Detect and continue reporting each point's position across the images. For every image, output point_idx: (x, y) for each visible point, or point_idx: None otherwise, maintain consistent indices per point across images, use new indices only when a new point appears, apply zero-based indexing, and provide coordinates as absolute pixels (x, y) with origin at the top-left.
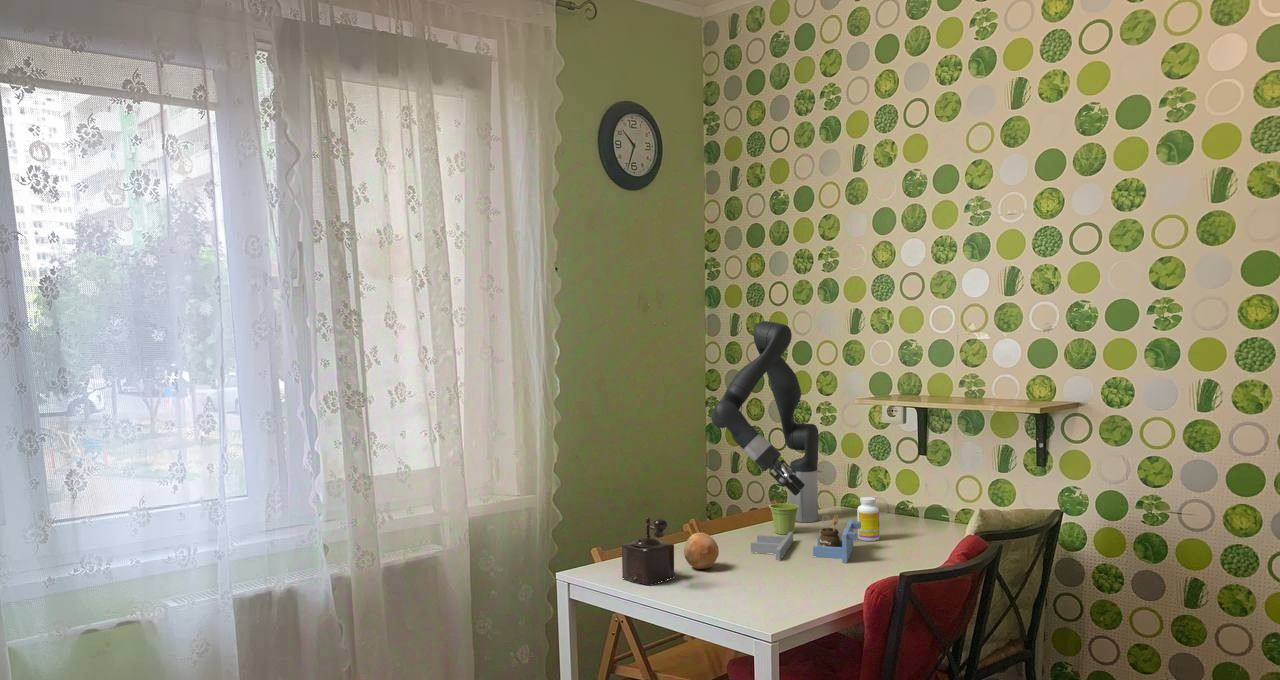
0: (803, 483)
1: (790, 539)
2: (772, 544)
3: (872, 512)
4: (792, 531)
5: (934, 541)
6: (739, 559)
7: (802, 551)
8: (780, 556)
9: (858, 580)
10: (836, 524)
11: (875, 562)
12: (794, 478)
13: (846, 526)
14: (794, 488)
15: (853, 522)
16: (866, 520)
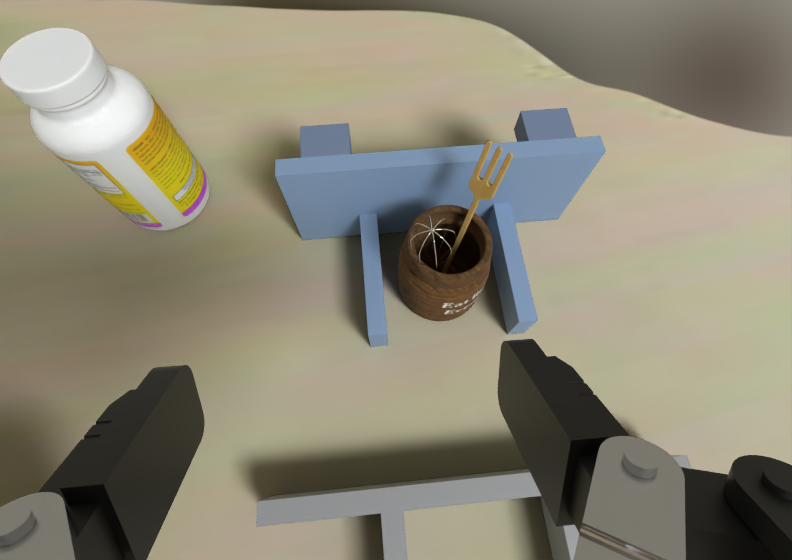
0: (164, 376)
1: (351, 489)
2: None
3: (147, 90)
4: None
5: (172, 31)
6: None
7: (450, 398)
8: None
9: (729, 144)
10: (475, 187)
11: (499, 133)
12: (110, 522)
13: (429, 162)
14: (588, 391)
15: (330, 149)
16: (171, 141)
